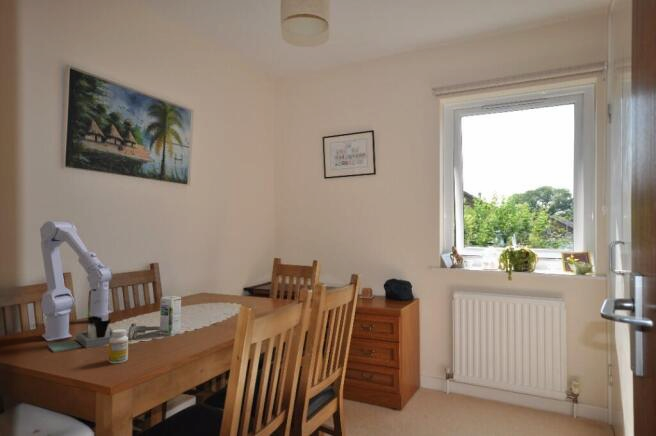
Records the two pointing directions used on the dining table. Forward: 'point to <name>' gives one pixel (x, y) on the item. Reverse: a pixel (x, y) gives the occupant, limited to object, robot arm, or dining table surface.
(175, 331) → the syrup box
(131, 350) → the dining table surface
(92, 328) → the block
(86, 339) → the grey square frame
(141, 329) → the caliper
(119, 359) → the supplement bottle
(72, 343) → the rubber mat
